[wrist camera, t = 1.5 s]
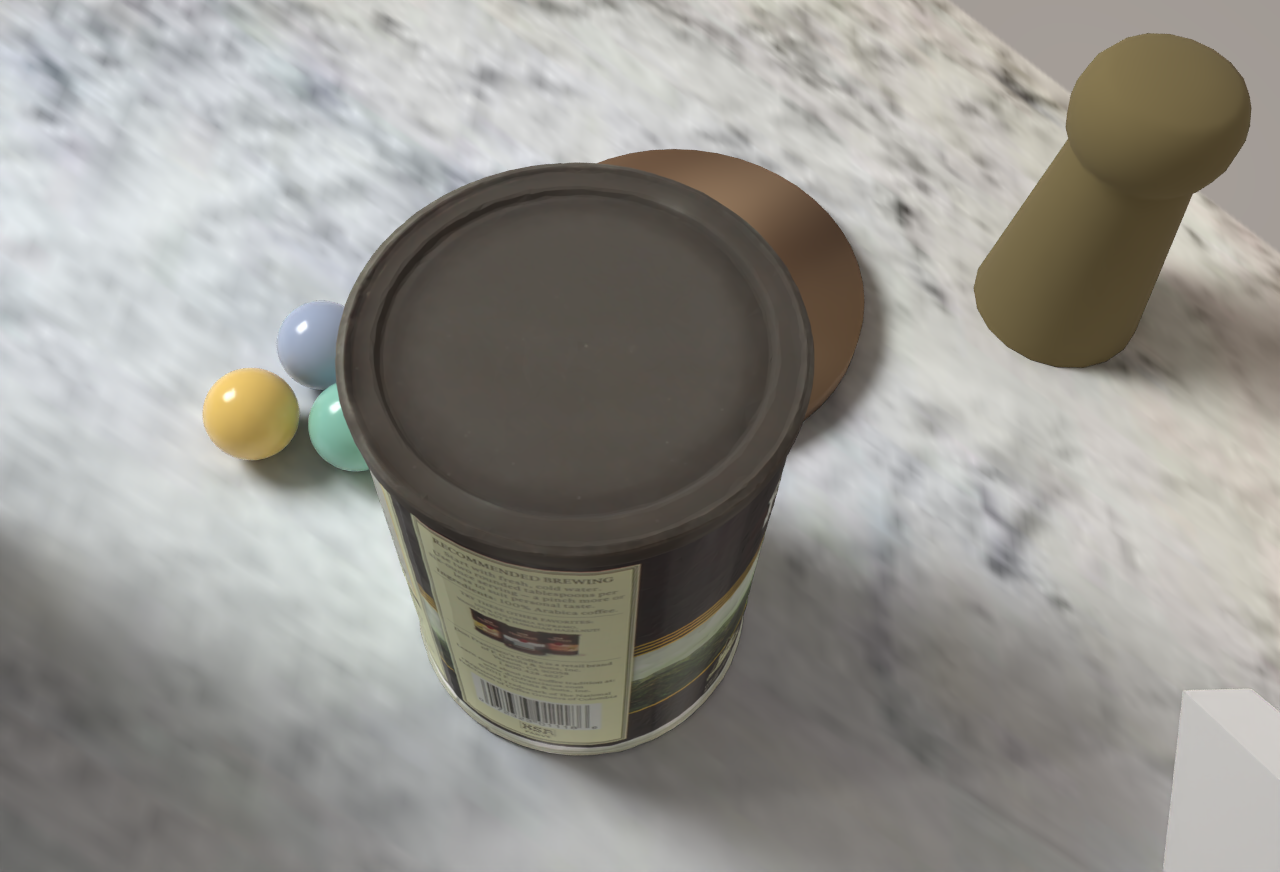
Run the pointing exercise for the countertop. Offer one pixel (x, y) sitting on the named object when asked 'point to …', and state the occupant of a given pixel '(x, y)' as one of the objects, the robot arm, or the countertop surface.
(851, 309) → the trivet
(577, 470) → the coffee can
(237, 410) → the marble amber
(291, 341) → the marble blue
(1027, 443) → the countertop surface
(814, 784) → the countertop surface
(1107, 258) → the cork
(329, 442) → the marble green
